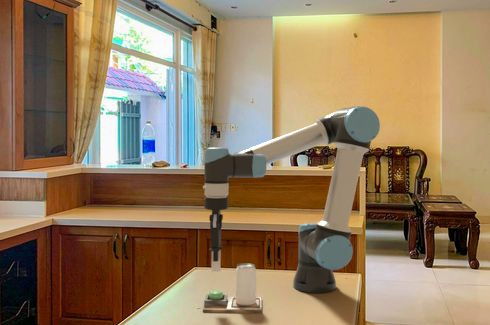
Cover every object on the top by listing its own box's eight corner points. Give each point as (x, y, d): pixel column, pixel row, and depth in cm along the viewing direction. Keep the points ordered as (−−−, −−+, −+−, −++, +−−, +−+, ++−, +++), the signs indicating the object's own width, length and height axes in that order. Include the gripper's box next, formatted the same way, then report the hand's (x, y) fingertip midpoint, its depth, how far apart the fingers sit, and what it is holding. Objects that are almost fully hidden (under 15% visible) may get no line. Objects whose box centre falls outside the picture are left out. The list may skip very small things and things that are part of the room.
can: (259, 301, 163) (260, 264, 162) (249, 307, 157) (249, 269, 157) (242, 298, 166) (242, 262, 166) (231, 303, 161) (231, 266, 160)
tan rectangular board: (261, 299, 168) (261, 291, 168) (261, 313, 155) (261, 304, 155) (207, 298, 169) (207, 291, 169) (202, 312, 156) (202, 303, 156)
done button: (223, 296, 164) (223, 290, 164) (222, 301, 160) (222, 294, 160) (209, 296, 164) (209, 290, 164) (208, 300, 160) (208, 294, 160)
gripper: (206, 194, 167) (206, 265, 168) (202, 198, 154) (201, 276, 155) (229, 194, 167) (229, 265, 168) (226, 199, 154) (226, 276, 155)
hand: (215, 270), depth 162 cm, fingers closed
